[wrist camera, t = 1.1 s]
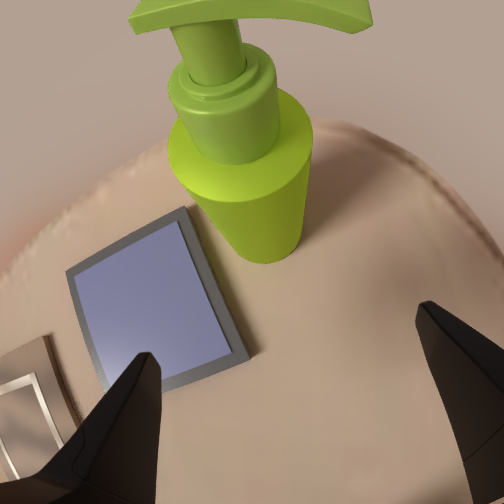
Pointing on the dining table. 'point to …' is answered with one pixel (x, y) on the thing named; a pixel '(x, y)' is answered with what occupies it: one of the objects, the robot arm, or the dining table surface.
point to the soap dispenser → (241, 117)
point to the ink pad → (156, 305)
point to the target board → (32, 409)
